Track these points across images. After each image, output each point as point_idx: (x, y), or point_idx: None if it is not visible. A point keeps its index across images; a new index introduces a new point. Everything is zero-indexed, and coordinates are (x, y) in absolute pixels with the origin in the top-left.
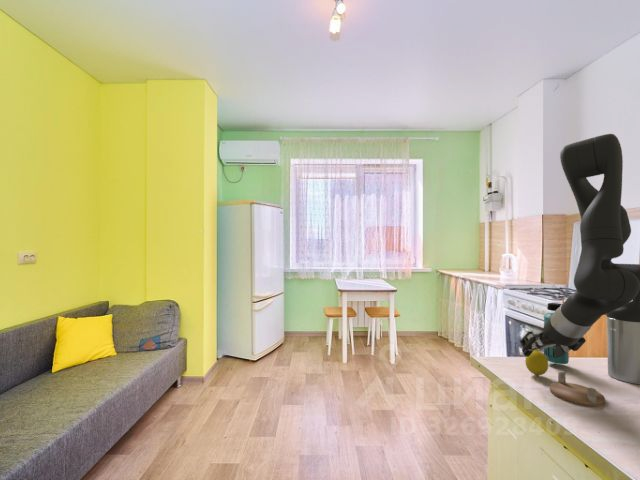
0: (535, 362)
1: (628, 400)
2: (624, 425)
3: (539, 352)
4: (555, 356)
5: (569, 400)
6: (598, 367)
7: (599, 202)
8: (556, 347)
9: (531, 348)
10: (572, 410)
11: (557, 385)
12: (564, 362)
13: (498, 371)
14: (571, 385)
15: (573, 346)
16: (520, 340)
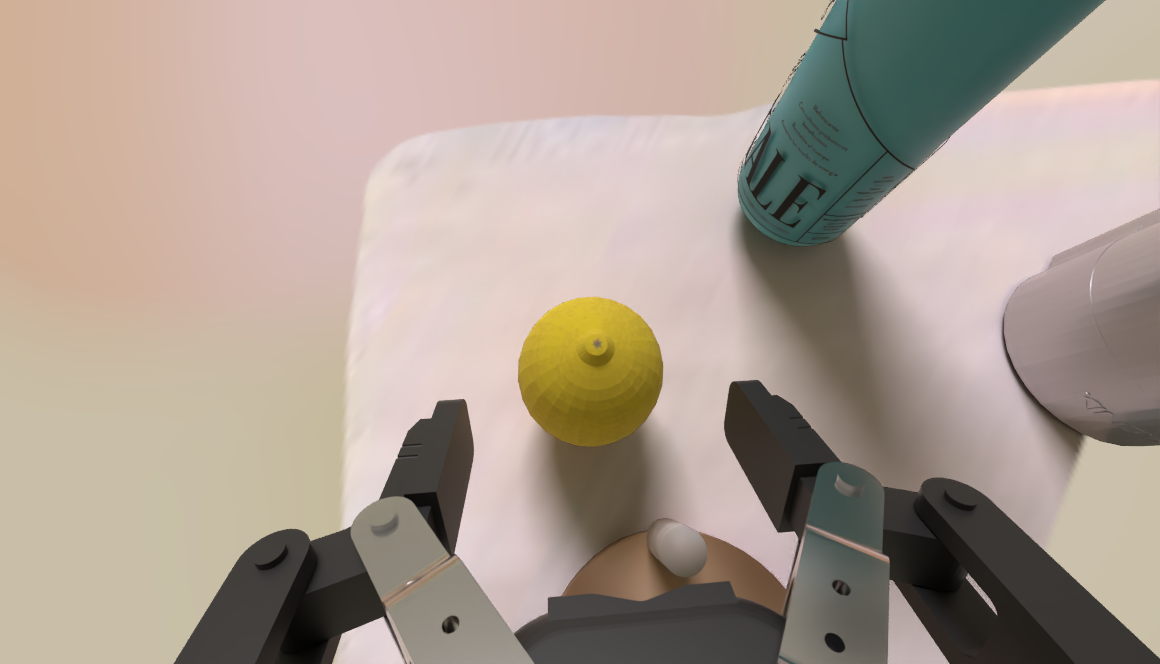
0: (552, 429)
1: None
2: None
3: (606, 381)
4: (789, 215)
5: None
6: (990, 218)
7: None
8: (761, 423)
9: (388, 623)
10: None
11: (613, 593)
12: (820, 242)
13: (387, 343)
14: (704, 580)
15: (934, 581)
16: (230, 575)
